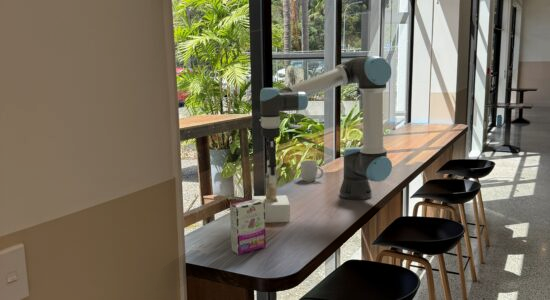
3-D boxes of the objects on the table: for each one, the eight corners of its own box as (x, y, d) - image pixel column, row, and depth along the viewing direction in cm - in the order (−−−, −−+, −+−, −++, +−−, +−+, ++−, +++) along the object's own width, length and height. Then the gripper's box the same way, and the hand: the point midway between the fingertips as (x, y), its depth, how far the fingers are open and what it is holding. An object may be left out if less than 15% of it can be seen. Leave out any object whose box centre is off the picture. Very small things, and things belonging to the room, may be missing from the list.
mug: (297, 181, 261) (297, 163, 260) (304, 177, 269) (304, 160, 268) (320, 183, 256) (320, 165, 254) (326, 180, 264) (326, 162, 262)
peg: (275, 215, 203) (275, 172, 200) (276, 218, 199) (276, 175, 196) (265, 215, 203) (265, 173, 199) (266, 218, 199) (266, 175, 195)
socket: (286, 211, 208) (286, 195, 207) (289, 221, 194) (289, 204, 193) (253, 212, 207) (253, 196, 206) (254, 222, 193) (254, 205, 192)
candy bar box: (257, 243, 171) (257, 198, 168) (266, 247, 167) (265, 201, 164) (230, 250, 164) (229, 203, 162) (238, 255, 160) (237, 207, 158)
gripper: (259, 123, 206) (261, 172, 210) (262, 131, 182) (263, 187, 186) (277, 122, 207) (278, 171, 211) (282, 131, 182) (283, 186, 186)
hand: (271, 179), depth 198 cm, fingers open, 13 cm apart
